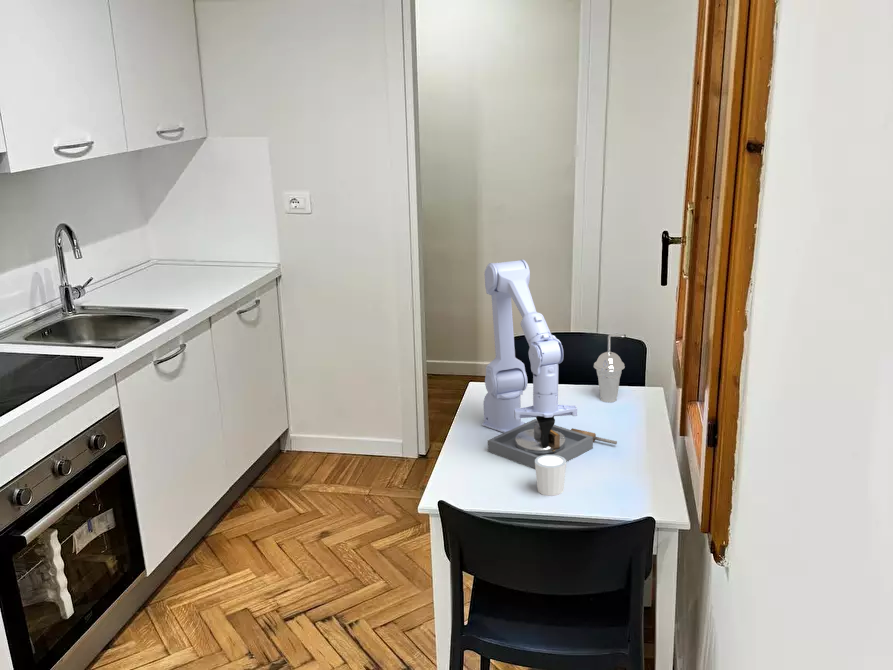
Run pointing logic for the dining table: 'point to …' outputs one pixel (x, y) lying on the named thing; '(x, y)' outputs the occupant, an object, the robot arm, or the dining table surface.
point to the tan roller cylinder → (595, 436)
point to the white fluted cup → (550, 474)
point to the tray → (507, 449)
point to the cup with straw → (609, 373)
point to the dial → (539, 441)
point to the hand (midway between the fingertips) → (545, 445)
